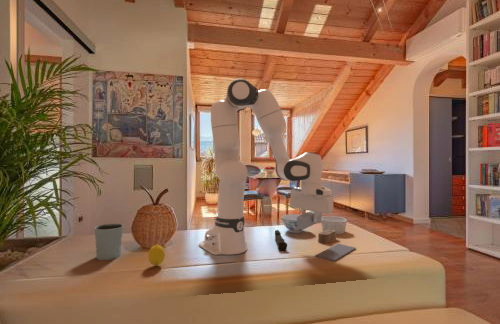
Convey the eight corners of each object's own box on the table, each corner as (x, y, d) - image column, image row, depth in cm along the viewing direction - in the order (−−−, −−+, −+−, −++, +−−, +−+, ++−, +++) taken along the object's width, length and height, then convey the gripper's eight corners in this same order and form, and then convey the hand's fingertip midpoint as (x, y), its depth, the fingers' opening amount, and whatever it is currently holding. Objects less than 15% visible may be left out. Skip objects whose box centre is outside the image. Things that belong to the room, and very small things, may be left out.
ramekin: (351, 234, 143) (351, 221, 142) (328, 235, 140) (329, 222, 139) (337, 227, 155) (338, 215, 155) (316, 229, 152) (316, 216, 152)
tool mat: (315, 256, 110) (315, 254, 110) (338, 244, 125) (338, 243, 125) (334, 261, 105) (334, 260, 105) (355, 249, 119) (355, 247, 119)
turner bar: (296, 228, 116) (296, 216, 116) (315, 219, 128) (315, 209, 127) (303, 229, 114) (302, 218, 114) (321, 220, 126) (321, 210, 125)
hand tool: (287, 251, 116) (287, 240, 116) (277, 251, 116) (278, 240, 116) (281, 238, 135) (282, 229, 135) (273, 238, 135) (274, 229, 135)
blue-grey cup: (88, 258, 107) (88, 227, 106) (110, 250, 116) (110, 222, 116) (107, 262, 103) (107, 230, 103) (128, 253, 112) (128, 224, 112)
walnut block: (318, 233, 129) (328, 229, 137) (318, 241, 129) (328, 237, 137) (326, 235, 127) (335, 230, 134) (326, 243, 127) (335, 239, 134)
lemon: (164, 268, 98) (164, 245, 98) (147, 270, 96) (147, 247, 96) (164, 262, 103) (164, 241, 103) (149, 264, 101) (148, 242, 101)
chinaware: (290, 236, 138) (290, 221, 138) (276, 229, 152) (276, 215, 152) (315, 233, 143) (315, 218, 143) (300, 226, 157) (300, 213, 157)
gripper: (287, 187, 125) (286, 217, 126) (328, 192, 112) (327, 226, 112) (295, 186, 130) (293, 215, 130) (335, 191, 116) (334, 223, 116)
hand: (309, 220), depth 121 cm, fingers closed on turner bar, 3 cm apart
